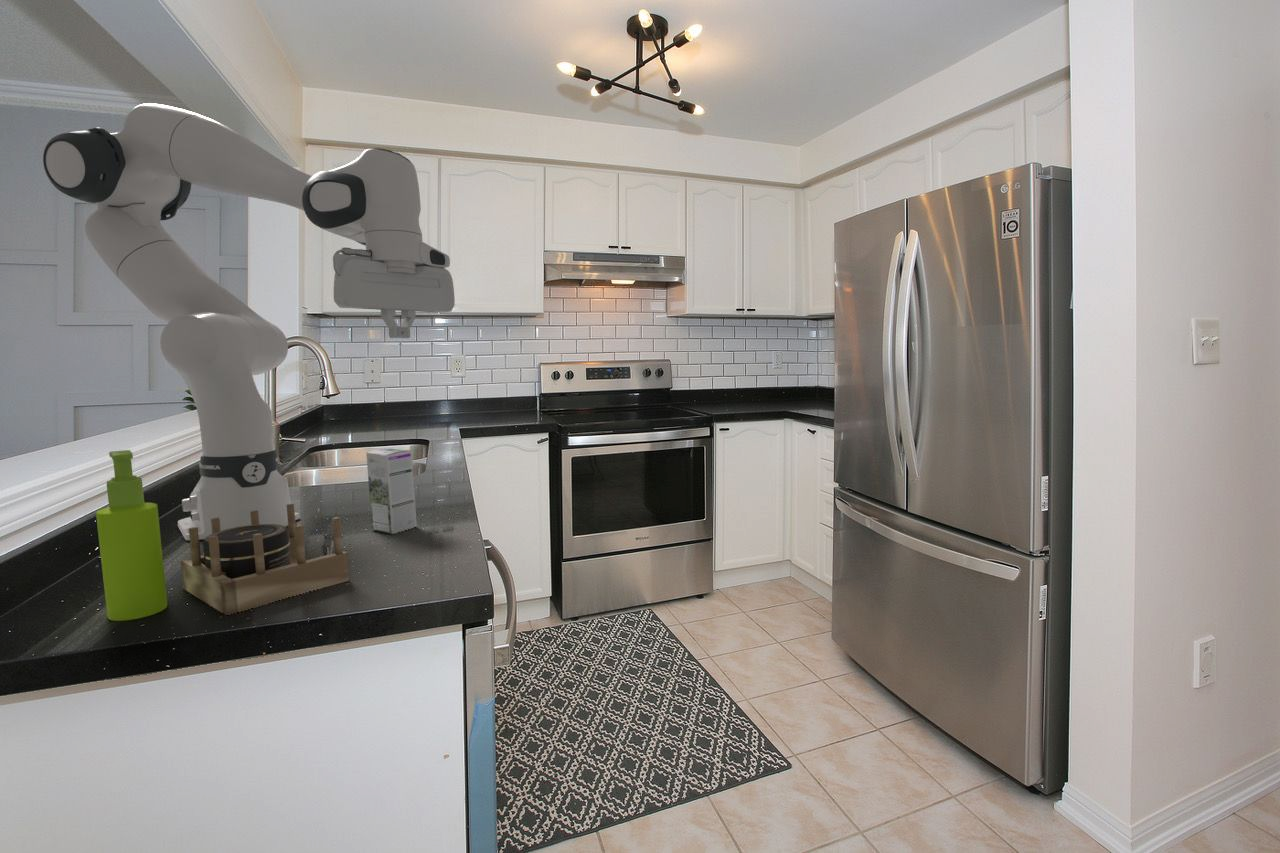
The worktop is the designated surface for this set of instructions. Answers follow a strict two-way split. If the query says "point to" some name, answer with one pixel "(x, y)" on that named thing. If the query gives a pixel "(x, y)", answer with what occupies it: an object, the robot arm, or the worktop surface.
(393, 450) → the syrup box
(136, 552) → the soap dispenser
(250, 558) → the jar
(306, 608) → the worktop surface
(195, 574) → the dish rack
